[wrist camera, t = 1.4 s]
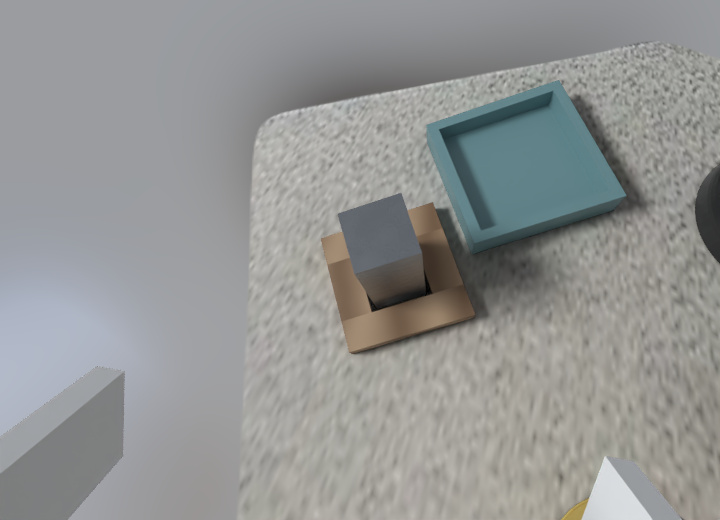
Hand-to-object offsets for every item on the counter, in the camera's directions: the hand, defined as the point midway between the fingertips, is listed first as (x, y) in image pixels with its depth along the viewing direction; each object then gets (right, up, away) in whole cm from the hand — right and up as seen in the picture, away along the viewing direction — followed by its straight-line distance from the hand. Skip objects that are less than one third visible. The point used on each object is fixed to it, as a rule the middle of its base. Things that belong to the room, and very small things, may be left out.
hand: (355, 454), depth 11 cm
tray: (+16, +14, +31) cm, 38 cm away
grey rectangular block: (+4, +3, +30) cm, 30 cm away
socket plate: (+4, +3, +30) cm, 30 cm away
